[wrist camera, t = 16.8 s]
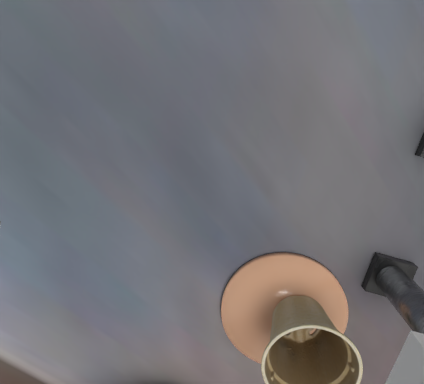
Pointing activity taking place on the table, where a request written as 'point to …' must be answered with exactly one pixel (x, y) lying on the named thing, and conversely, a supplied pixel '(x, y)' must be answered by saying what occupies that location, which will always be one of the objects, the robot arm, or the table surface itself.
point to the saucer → (276, 297)
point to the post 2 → (420, 148)
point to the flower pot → (308, 347)
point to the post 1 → (397, 287)
